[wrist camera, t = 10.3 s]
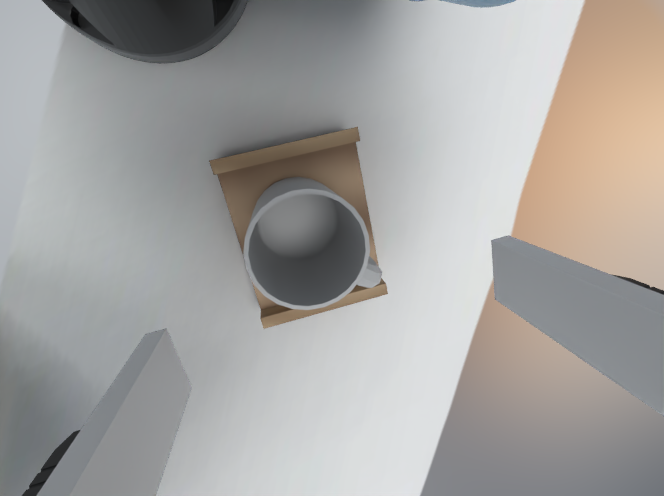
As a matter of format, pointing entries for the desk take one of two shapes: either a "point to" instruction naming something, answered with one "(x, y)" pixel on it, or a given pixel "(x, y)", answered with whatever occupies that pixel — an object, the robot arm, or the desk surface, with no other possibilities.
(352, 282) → the cup
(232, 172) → the wooden tray
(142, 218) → the desk surface
